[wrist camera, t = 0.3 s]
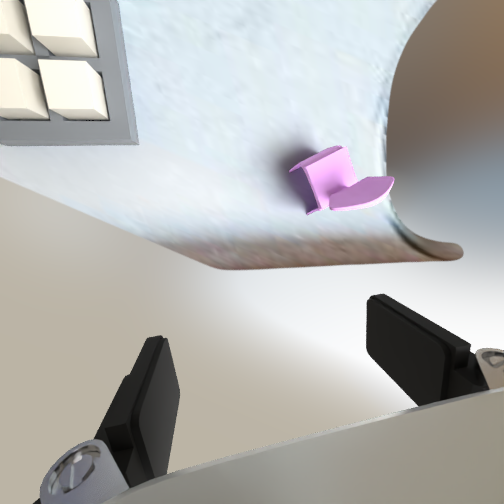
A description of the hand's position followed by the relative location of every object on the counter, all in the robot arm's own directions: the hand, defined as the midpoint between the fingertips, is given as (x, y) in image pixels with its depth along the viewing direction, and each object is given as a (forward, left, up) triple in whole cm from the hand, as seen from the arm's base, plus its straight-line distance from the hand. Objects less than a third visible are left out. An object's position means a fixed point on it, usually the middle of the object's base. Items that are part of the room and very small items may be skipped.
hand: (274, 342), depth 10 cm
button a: (-26, -18, -28) cm, 42 cm away
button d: (-19, -25, -28) cm, 42 cm away
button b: (-19, -18, -28) cm, 38 cm away
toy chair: (-8, +15, -31) cm, 35 cm away
